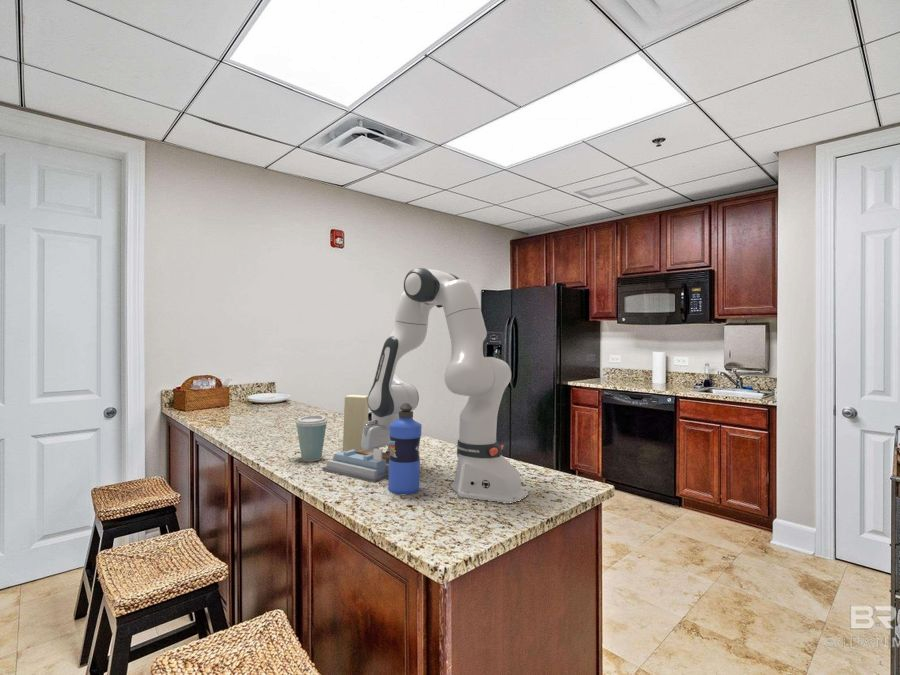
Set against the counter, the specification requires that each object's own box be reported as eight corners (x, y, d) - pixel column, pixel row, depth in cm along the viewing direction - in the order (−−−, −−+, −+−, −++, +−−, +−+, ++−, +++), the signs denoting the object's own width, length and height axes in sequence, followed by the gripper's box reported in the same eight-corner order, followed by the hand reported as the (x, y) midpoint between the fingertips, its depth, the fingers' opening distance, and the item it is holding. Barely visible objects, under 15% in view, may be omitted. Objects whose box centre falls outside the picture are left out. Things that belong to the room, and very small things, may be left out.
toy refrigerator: (368, 448, 186) (369, 395, 186) (362, 452, 178) (364, 397, 178) (348, 447, 187) (350, 394, 186) (342, 451, 179) (344, 396, 179)
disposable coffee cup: (317, 464, 161) (318, 420, 161) (288, 462, 163) (290, 418, 163) (331, 456, 171) (332, 415, 171) (304, 454, 173) (305, 414, 173)
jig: (396, 473, 152) (396, 464, 152) (374, 482, 143) (374, 472, 143) (345, 462, 164) (346, 454, 164) (322, 470, 154) (322, 461, 154)
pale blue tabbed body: (385, 472, 151) (386, 448, 151) (376, 475, 147) (377, 451, 147) (339, 462, 161) (339, 440, 161) (329, 464, 157) (330, 442, 157)
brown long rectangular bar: (409, 465, 163) (409, 457, 163) (400, 469, 158) (400, 460, 158) (364, 457, 173) (364, 448, 173) (355, 459, 169) (355, 451, 169)
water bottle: (390, 495, 132) (392, 406, 132) (385, 485, 141) (388, 401, 140) (422, 493, 134) (425, 406, 134) (416, 483, 143) (418, 401, 143)
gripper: (371, 424, 155) (370, 465, 155) (408, 415, 172) (407, 453, 172) (357, 421, 158) (356, 462, 158) (394, 413, 176) (393, 450, 176)
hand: (383, 457), depth 165 cm, fingers closed on brown long rectangular bar, 5 cm apart
